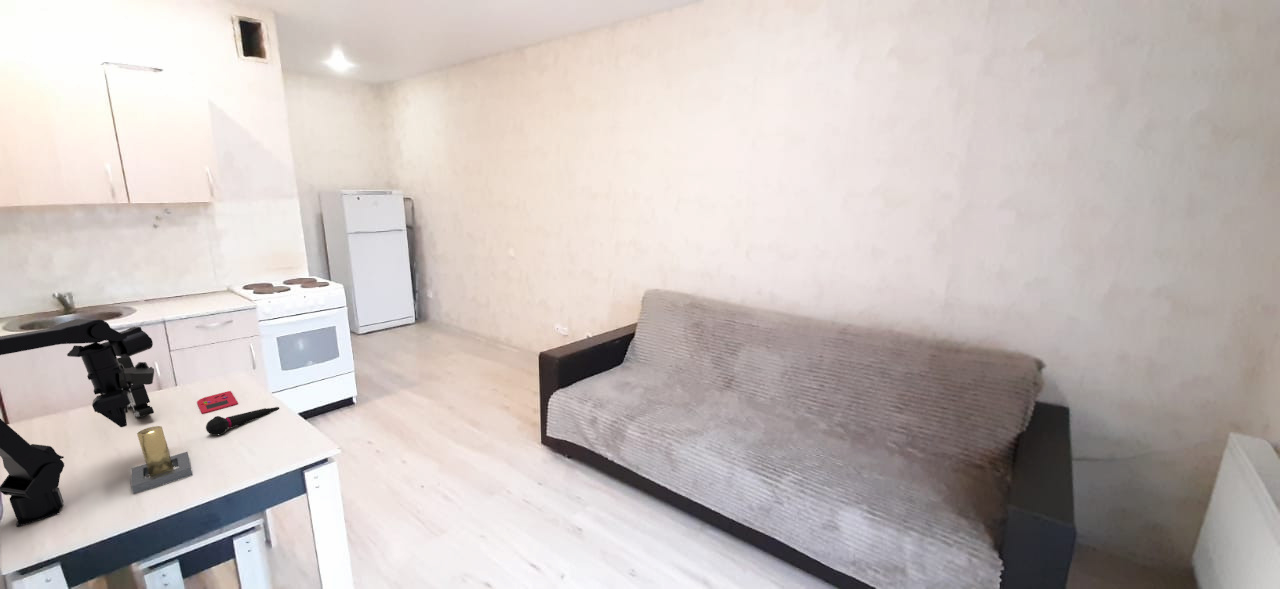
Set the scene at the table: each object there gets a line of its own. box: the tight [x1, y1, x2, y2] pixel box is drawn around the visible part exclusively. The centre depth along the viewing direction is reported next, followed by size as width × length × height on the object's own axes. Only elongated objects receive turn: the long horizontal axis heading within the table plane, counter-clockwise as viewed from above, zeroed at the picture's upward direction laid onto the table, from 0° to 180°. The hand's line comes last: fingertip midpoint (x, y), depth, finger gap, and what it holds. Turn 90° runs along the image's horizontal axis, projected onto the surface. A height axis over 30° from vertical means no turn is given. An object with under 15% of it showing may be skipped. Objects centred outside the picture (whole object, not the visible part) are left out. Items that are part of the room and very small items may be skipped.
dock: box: [130, 451, 193, 495], centre depth 130 cm, size 11×11×2 cm
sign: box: [117, 356, 155, 419], centre depth 163 cm, size 22×3×20 cm, turn 53°
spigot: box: [136, 425, 175, 477], centre depth 129 cm, size 5×5×13 cm
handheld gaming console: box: [196, 390, 239, 415], centre depth 172 cm, size 10×1×15 cm
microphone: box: [205, 406, 280, 436], centre depth 157 cm, size 6×6×20 cm
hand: (124, 419), depth 132 cm, fingers open, 9 cm apart
